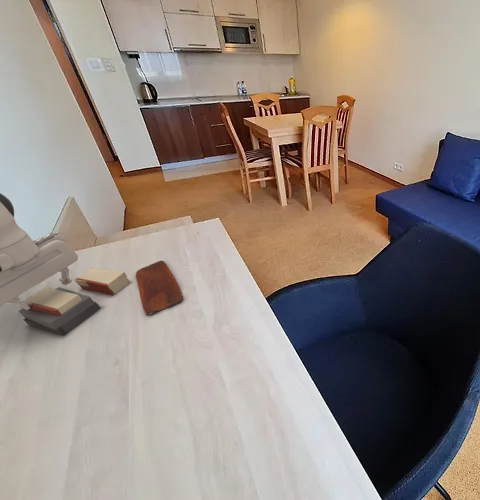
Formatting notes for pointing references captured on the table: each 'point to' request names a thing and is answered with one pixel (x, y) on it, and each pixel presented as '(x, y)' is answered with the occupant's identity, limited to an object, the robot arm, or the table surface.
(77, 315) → the grey book pile
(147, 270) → the wooden tablet
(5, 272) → the robot arm
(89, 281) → the white book pile
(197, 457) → the table surface
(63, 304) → the white book
